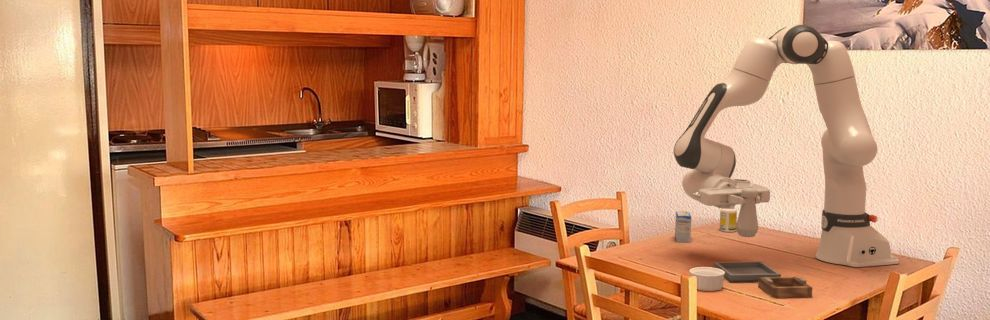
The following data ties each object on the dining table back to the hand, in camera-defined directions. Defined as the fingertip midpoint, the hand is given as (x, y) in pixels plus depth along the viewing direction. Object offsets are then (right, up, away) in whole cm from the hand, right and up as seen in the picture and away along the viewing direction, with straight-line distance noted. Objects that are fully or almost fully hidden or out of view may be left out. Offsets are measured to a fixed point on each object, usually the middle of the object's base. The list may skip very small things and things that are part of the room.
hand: (751, 201), depth 232 cm
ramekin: (-14, -22, -7) cm, 27 cm away
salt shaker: (0, -10, +2) cm, 10 cm away
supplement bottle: (+10, -13, +59) cm, 61 cm away
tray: (0, -20, +4) cm, 21 cm away
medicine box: (-8, -15, +46) cm, 49 cm away
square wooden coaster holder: (+5, -22, -12) cm, 26 cm away
